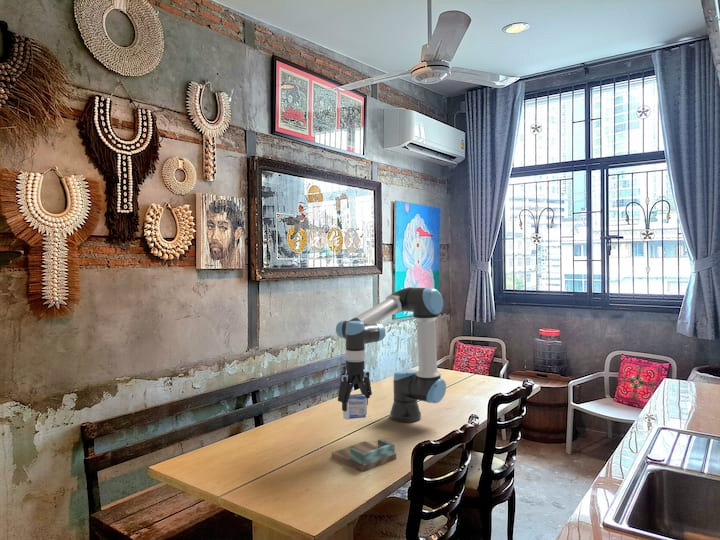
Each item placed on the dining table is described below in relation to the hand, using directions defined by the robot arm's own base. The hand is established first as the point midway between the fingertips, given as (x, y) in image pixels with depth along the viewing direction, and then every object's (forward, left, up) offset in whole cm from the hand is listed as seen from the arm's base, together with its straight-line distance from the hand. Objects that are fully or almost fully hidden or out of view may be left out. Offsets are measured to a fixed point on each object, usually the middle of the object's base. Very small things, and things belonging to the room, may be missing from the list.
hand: (355, 416), depth 201 cm
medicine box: (0, 0, -1) cm, 1 cm away
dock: (0, +5, -15) cm, 16 cm away
